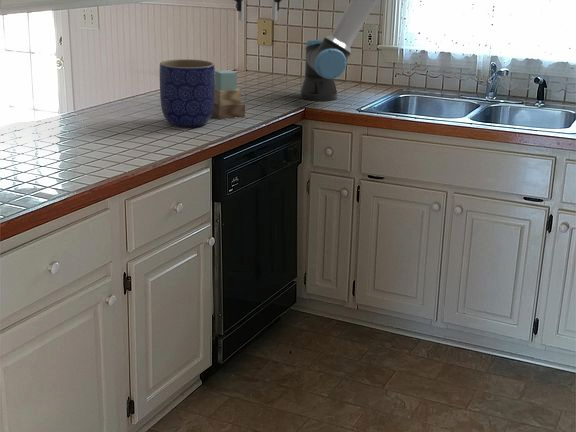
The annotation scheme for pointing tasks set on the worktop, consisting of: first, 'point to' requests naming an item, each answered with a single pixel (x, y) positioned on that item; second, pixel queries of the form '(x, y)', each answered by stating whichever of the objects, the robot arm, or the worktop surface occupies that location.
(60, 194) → the worktop surface
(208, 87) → the planter
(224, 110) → the tower base
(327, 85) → the robot arm
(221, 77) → the teal cube
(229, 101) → the tower top
